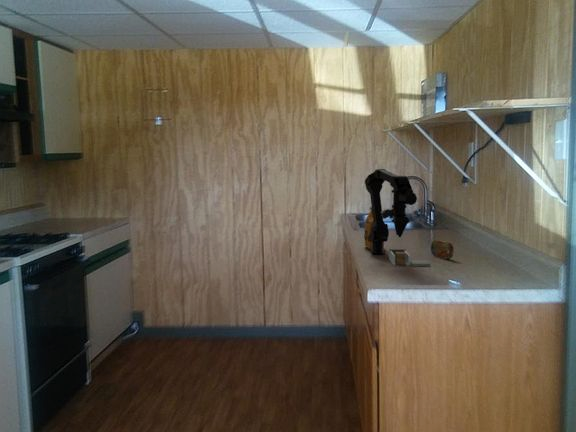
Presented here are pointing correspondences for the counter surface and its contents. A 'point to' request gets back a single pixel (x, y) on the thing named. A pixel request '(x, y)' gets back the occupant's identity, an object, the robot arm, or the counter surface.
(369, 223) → the coffee package
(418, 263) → the tile
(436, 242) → the tin
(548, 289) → the counter surface
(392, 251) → the grey open rectangular frame
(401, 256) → the block
